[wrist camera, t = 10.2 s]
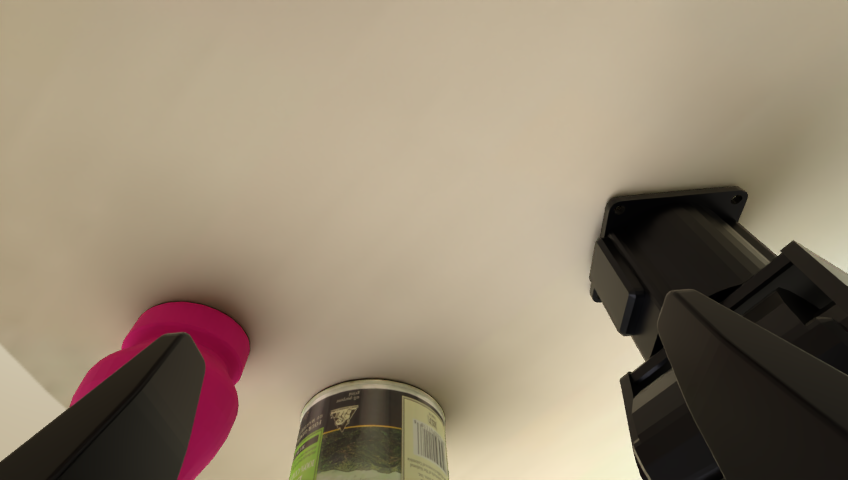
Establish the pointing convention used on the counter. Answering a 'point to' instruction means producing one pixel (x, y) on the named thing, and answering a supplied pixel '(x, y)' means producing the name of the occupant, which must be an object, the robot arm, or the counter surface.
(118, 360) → the pepper mill
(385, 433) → the coffee can
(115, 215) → the counter surface
